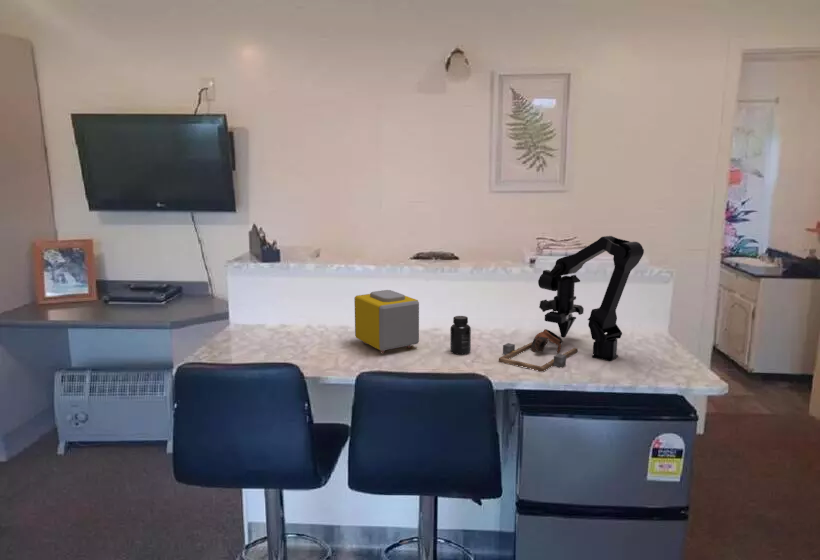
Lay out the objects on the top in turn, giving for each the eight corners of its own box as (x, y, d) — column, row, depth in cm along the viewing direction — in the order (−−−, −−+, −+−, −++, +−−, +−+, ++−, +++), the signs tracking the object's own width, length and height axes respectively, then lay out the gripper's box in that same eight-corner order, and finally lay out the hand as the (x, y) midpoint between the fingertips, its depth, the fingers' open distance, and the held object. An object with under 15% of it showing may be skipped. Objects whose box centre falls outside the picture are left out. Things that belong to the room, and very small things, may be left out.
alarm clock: (421, 349, 205) (421, 296, 201) (381, 356, 196) (380, 302, 193) (392, 335, 221) (392, 286, 217) (354, 342, 213) (353, 291, 209)
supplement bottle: (470, 349, 204) (471, 315, 202) (470, 355, 198) (471, 320, 195) (450, 348, 205) (450, 314, 203) (449, 354, 198) (450, 319, 196)
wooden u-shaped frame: (585, 353, 199) (585, 344, 199) (550, 374, 180) (551, 363, 180) (529, 342, 212) (529, 333, 212) (491, 359, 193) (491, 350, 192)
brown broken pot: (533, 346, 209) (546, 326, 208) (555, 362, 205) (569, 342, 203) (521, 346, 199) (535, 326, 197) (544, 363, 194) (559, 342, 193)
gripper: (556, 286, 218) (554, 327, 221) (531, 294, 204) (529, 339, 207) (585, 290, 212) (582, 333, 215) (561, 299, 197) (559, 345, 200)
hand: (563, 337), depth 209 cm, fingers closed
